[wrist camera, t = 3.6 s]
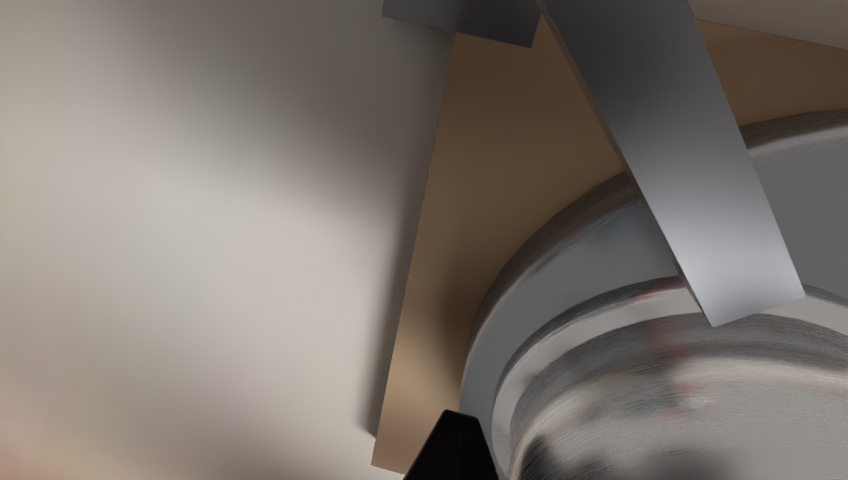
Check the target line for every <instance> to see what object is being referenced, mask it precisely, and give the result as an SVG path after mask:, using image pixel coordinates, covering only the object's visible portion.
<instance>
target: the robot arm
mask: <svg viewBox="0 0 848 480" xmlns="http://www.w3.org/2000/svg"><path fill="white" fill-rule="evenodd" d="M403 480H500V479H499V476H498V473H497V470H496V467H495V464H494V461H493V458H492V456H491V453H490V450H489V447H488V444H487V441H486V438H485V435H484V432H483V430H482V427H481V424H480V421H479V419H478V418H477V417H475V416H471V415H467V414H464V413H460V412H456V411H452V410H448V409H445V410H444V411H443V412H442V414H441V415H440V417H439V419H438V420H437V422H436V424H435V425H434V427H433V429H432V431H431V432H430V434H429V436H428V437H427V439H426V441H425V443H424V444H423V446H422V448H421V449H420V451H419V453H418V454H417V456H416V458H415V460H414V461H413V463H412V465H411V466H410V468H409V470H408V472H407V473H406V475H405V477H404V478H403Z"/></svg>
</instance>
